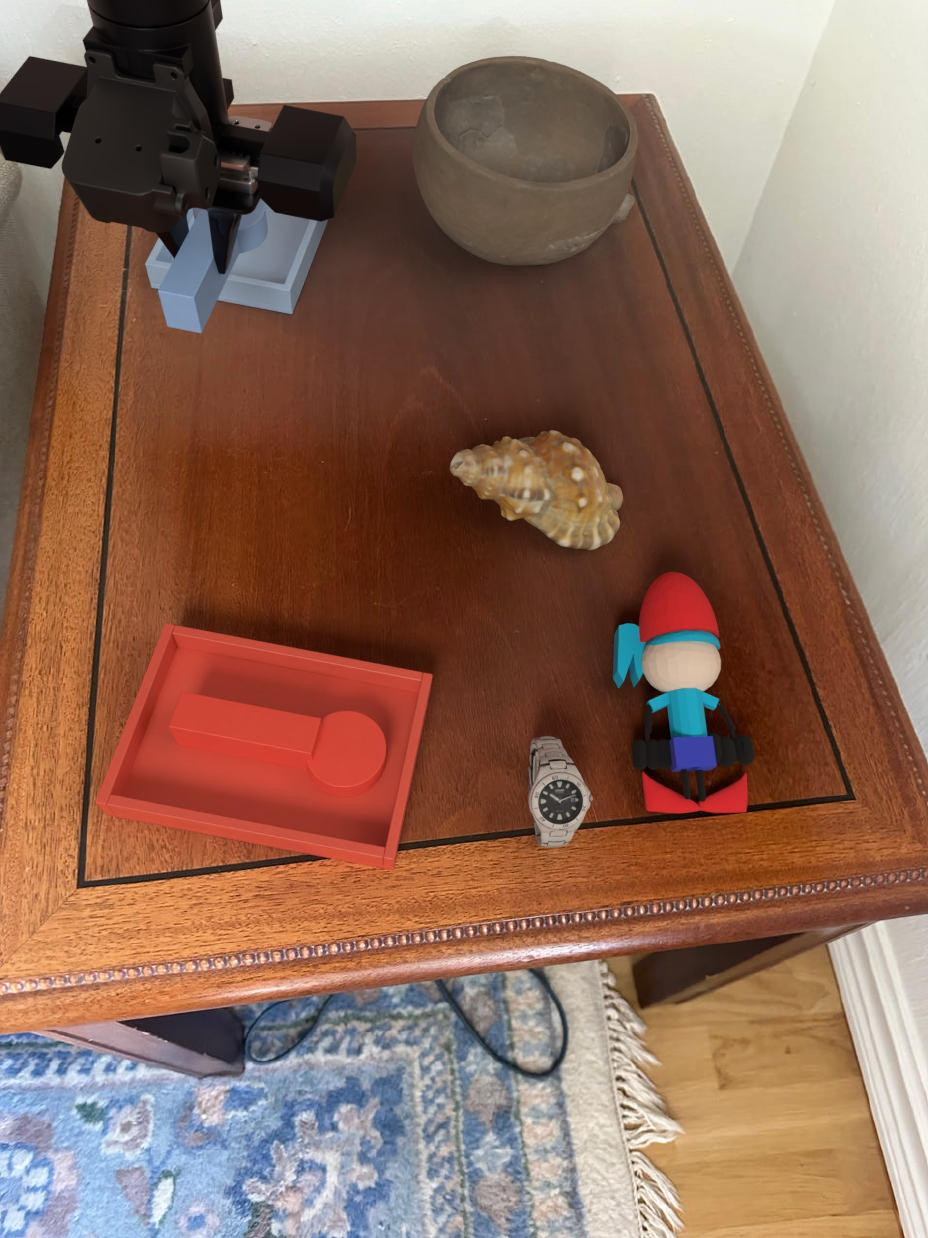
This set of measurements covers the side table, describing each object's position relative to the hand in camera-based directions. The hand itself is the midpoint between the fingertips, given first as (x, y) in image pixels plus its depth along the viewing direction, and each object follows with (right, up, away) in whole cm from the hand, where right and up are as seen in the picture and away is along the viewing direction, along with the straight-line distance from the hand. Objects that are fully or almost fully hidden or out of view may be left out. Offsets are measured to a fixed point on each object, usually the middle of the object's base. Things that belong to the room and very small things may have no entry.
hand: (204, 265), depth 57 cm
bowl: (+21, +11, +21) cm, 32 cm away
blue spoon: (0, +1, +2) cm, 2 cm away
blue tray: (-1, +9, +18) cm, 20 cm away
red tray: (+5, -30, -4) cm, 31 cm away
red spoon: (+6, -30, -4) cm, 31 cm away
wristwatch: (+21, -33, -4) cm, 39 cm away
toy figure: (+29, -27, 0) cm, 40 cm away
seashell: (+21, -15, +6) cm, 27 cm away
